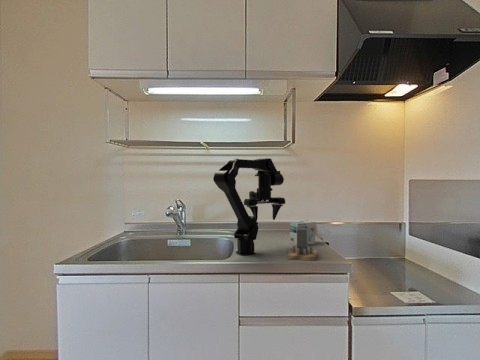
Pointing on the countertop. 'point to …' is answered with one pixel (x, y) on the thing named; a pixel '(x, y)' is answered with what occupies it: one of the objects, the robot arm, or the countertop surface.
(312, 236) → the light bulb box
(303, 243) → the block
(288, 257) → the wooden peg board
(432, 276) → the countertop surface
